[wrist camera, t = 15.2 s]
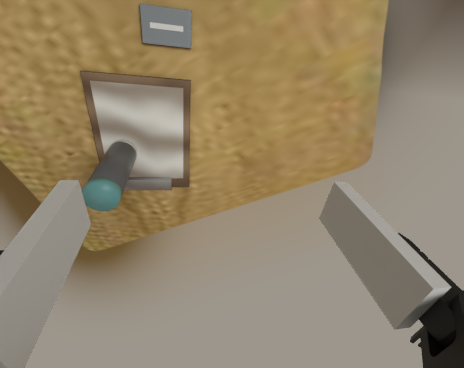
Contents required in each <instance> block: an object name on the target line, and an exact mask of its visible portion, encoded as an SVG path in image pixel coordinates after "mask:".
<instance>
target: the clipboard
mask: <svg viewBox="0 0 464 368" xmlns="http://www.w3.org/2000/svg"><path fill="white" fill-rule="evenodd" d="M80 74H81V78H82V83H83V88H84V92H85V97H86V101H87V106H88V111H89V115H90V120H91V124H92V129H93V134H94V138H95V143H96V148H97V152H98V157H99V161H101V160H102V158H103V156H104V155H105V153H106V152H107V150H108V149H109V147H110V146H111V145H112V144H113V143H114V142H115V141H117V140H121V139H123V140H128V141H130V142H131V143H133V144H134V145H135V147H136V149H137V157H136V160H135V163H134V165H133V168H132V170H131V173H130V176H129V178H128V181H127V183H126V186H125V189H124V190H172V187H189V152H190V89H191V80H183V79H171V78H160V77H149V76H137V75H126V74H114V73H103V72H91V71H80Z"/></svg>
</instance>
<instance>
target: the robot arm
mask: <svg viewBox="0 0 464 368" xmlns="http://www.w3.org/2000/svg"><path fill="white" fill-rule="evenodd" d="M320 220H321V222H322V223H323V225H324V226H325V228H326V229H327V231H328V232H329V234H330V235H331V237H332V238H333V239H334V241H335V242H336V244H337V245H338V247H339V248H340V250H341V251H342V253H343V254H344V255H345V257H346V259H347V260H348V262H349V263H350V265H351V266H352V268H353V269H354V271H355V272H356V274H357V275H358V276H359V278H360V279H361V281H362V282H363V284H364V285H365V287H366V288H367V290H368V291H369V292H370V294H371V296H372V297H373V299H374V300H375V302H376V303H377V304H378V306H379V307H380V309H381V310H382V312H383V313H384V315H385V316H386V318H387V319H388V321H389V322H390V324H391V325H392V327H393V328H394V329H401V328H409V327H411V326H412V325H413V324H414V323H415V322H416V321H417V320H418V319H419V320H420V321H421V323H422V324H423V325H424V326H423V327H422V328H421V329H420V330H419V331H418V332H416V333H415V334H414V335H413V336H412V337H411V340H410V342H412V343H414V342H415V341H417V340H418V339H419V338H421V342H420V343H419V344H418V346H419V347H421V348H422V359H423V368H464V291H462V290H461V289H460V288H459V287H458V286H456V284H455V283H454V282H453V281H451V279H449V278H448V277H447V276H446V275H445V274H444V273H443V272H442V271H441V270H440V269H439V268H438V267H437V266H436V265H435V264H434V263H433V262H432V261H431V260H429V259H428V257H427V256H426V255H425V254H424V253H423V252H420V249H419V248H418V247H417V246H416V245H415V244H413V242H411V241H410V240H409V239H407V238H406V237H404V236H403V235H401V234H400V233H397V232H396V231H395V230H394V229H393V228H392V227H391V226H390V225H388V223H387V222H386V221H385V220H383V218H382V217H381V216H380V215H379V214H378V213H377V212H376V211H375V210H374V209H373V208H372V207H371V206H370V205H369V204H368V203H367V202H366V201H365V200H364V199H363V198H362V197H361V196H360V195H359V194H357V192H356V191H355V190H354V189H353V188H352V187H351V186H350V185H349V184H348V183H346V182H334V184H333V186H332V189H331V191H330V194H329V196H328V198H327V201H326V203H325V206H324V208H323V211H322V213H321V215H320ZM90 226H91V222H90V219H89V215H88V212H87V208H86V205H85V201H84V198H83V194H82V190H81V187H80V183H79V180H60V181H59V182H58V183H57V184H56V186H55V187H54V188H53V189H52V191H51V192H50V193H49V195H48V196H47V197H46V198H45V200H44V201H43V202H42V203H41V205H40V206H39V207H38V209H37V210H36V211H35V212H34V214H33V215H32V216H31V217H30V219H29V220H28V221H27V222H26V224H25V225H24V226H23V227H22V229H21V230H20V231H19V233H18V234H17V235H16V236H15V238H14V239H13V240H12V241H11V243H10V244H9V245H8V246H7V248H6V249H5V250H2V251H0V368H25V366H26V364H27V361H28V359H29V357H30V355H31V353H32V350H33V348H34V346H35V344H36V342H37V340H38V337H39V336H40V333H41V331H42V329H43V327H44V325H45V322H46V321H47V318H48V316H49V314H50V312H51V310H52V308H53V305H54V303H55V301H56V299H57V297H58V295H59V292H60V290H61V288H62V286H63V284H64V282H65V279H66V277H67V275H68V273H69V271H70V269H71V267H72V265H73V262H74V260H75V258H76V256H77V254H78V252H79V249H80V247H81V245H82V243H83V241H84V239H85V237H86V234H87V232H88V230H89V228H90Z"/></svg>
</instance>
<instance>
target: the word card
mask: <svg viewBox="0 0 464 368" xmlns="http://www.w3.org/2000/svg"><path fill="white" fill-rule="evenodd" d="M140 13H141V26H142V38H143V43H148V44H157V45H166V46H175V47H184V48H191V25H192V11H189V10H182V9H175V8H168V7H161V6H154V5H147V4H140Z"/></svg>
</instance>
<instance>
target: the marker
mask: <svg viewBox="0 0 464 368" xmlns="http://www.w3.org/2000/svg"><path fill="white" fill-rule="evenodd" d="M136 157H137V149H136V147H135V145H134V144H133V143H131V142H130V141H128V140H123V139H121V140H117V141H115V142H114V143H113V144H112V145H111V146H110V147H109V149H108V150H107V152H106V153H105V155H104V156H103V158H102V160H101V161H100V163H99V164H98V166H97V167H96V169H95V171H94V172H93V174H92V175H91V177H90V178H89V180H88V182H87V183H86V185H85V186H84V188H83V189H82V194H83V198H84V201H85V204H86V205H87V206H88V207H90V208H92V209H94V210H98V211H109V210H112V209H114V208H115V207H117V205H118V204H119V202H120V199H121V196H122V194H123V191H124V189H125V186H126V183H127V181H128V178H129V176H130V173H131V170H132V168H133V165H134V163H135V160H136Z"/></svg>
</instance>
